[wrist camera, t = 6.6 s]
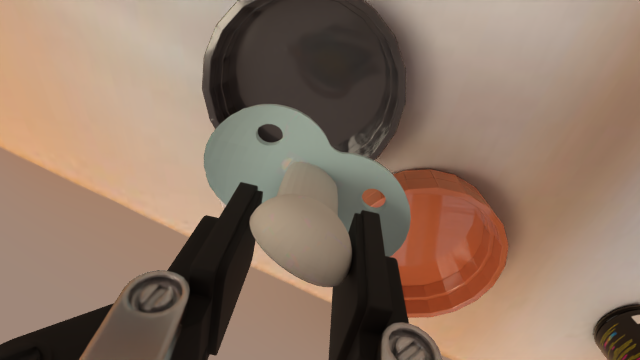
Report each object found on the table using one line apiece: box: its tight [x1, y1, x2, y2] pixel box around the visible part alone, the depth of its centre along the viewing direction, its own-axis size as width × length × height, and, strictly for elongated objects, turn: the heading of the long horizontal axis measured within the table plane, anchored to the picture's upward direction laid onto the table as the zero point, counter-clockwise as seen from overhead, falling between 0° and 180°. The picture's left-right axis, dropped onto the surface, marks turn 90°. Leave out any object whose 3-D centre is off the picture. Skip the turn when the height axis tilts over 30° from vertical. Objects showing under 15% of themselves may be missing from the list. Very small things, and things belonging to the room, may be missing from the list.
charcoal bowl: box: [202, 0, 406, 160], centre depth 24 cm, size 13×13×4 cm
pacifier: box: [204, 104, 411, 287], centre depth 11 cm, size 7×6×6 cm
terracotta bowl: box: [362, 169, 508, 318], centre depth 29 cm, size 13×13×4 cm
